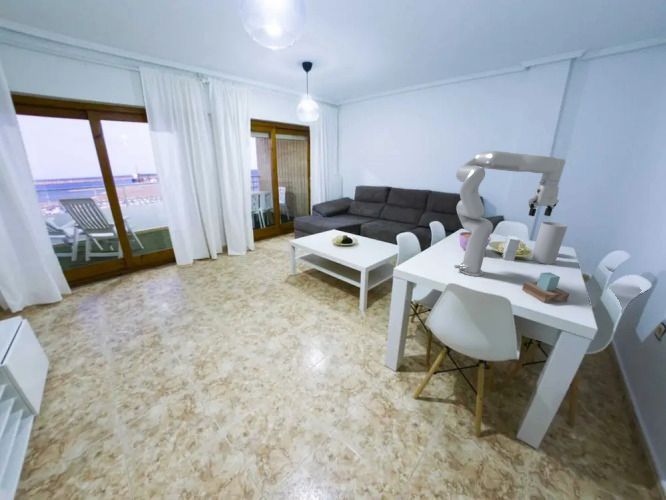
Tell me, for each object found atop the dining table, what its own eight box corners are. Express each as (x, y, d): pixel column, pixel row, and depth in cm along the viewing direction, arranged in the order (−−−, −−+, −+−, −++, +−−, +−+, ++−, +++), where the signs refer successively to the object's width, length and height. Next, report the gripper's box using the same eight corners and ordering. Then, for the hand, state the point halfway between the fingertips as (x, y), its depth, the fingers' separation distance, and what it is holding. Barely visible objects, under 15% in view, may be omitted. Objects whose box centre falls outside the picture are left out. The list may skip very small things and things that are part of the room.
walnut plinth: (543, 302, 115) (546, 295, 113) (521, 290, 126) (524, 282, 125) (566, 301, 116) (569, 293, 115) (542, 289, 128) (545, 281, 126)
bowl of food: (493, 253, 178) (497, 237, 174) (477, 258, 168) (481, 241, 164) (466, 245, 194) (469, 230, 190) (450, 249, 184) (453, 234, 180)
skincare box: (501, 255, 173) (507, 235, 168) (511, 257, 171) (517, 236, 166) (503, 259, 166) (509, 238, 161) (514, 261, 163) (520, 239, 158)
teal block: (545, 290, 117) (550, 277, 115) (536, 285, 122) (540, 272, 120) (555, 290, 118) (560, 277, 116) (545, 285, 123) (550, 272, 120)
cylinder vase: (531, 261, 163) (542, 224, 155) (529, 256, 173) (540, 220, 165) (555, 266, 157) (569, 227, 149) (553, 260, 167) (565, 223, 158)
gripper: (541, 183, 127) (531, 217, 132) (570, 184, 129) (559, 217, 135) (528, 182, 134) (519, 214, 139) (556, 183, 136) (546, 214, 142)
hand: (539, 215), depth 137 cm, fingers open, 9 cm apart
